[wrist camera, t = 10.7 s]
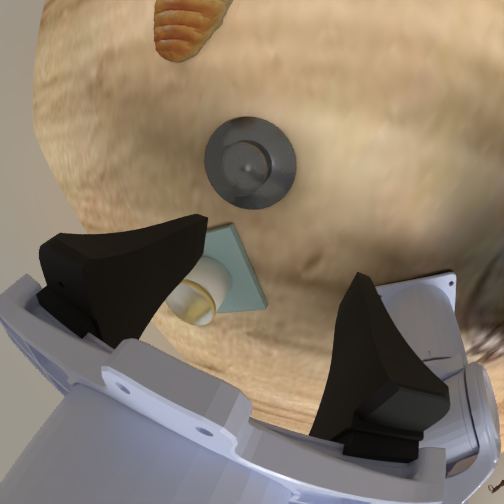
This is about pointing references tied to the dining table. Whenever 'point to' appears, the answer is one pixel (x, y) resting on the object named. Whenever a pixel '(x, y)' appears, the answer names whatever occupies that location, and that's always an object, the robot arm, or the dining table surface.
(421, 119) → the dining table surface
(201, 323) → the can
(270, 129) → the grey round lid
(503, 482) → the coffee pot
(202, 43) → the pastry
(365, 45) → the dining table surface
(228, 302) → the coaster
